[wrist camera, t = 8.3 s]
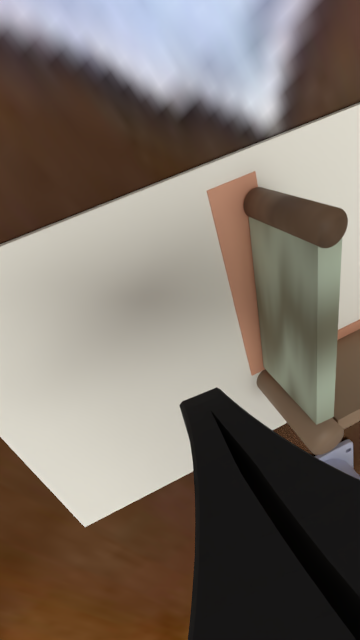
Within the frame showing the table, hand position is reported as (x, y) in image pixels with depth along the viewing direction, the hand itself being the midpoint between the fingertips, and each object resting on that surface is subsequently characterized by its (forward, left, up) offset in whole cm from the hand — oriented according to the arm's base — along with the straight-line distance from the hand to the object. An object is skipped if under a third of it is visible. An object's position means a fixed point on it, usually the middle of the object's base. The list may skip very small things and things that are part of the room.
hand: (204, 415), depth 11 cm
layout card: (-3, -5, -8) cm, 10 cm away
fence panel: (-1, -6, -7) cm, 9 cm away
